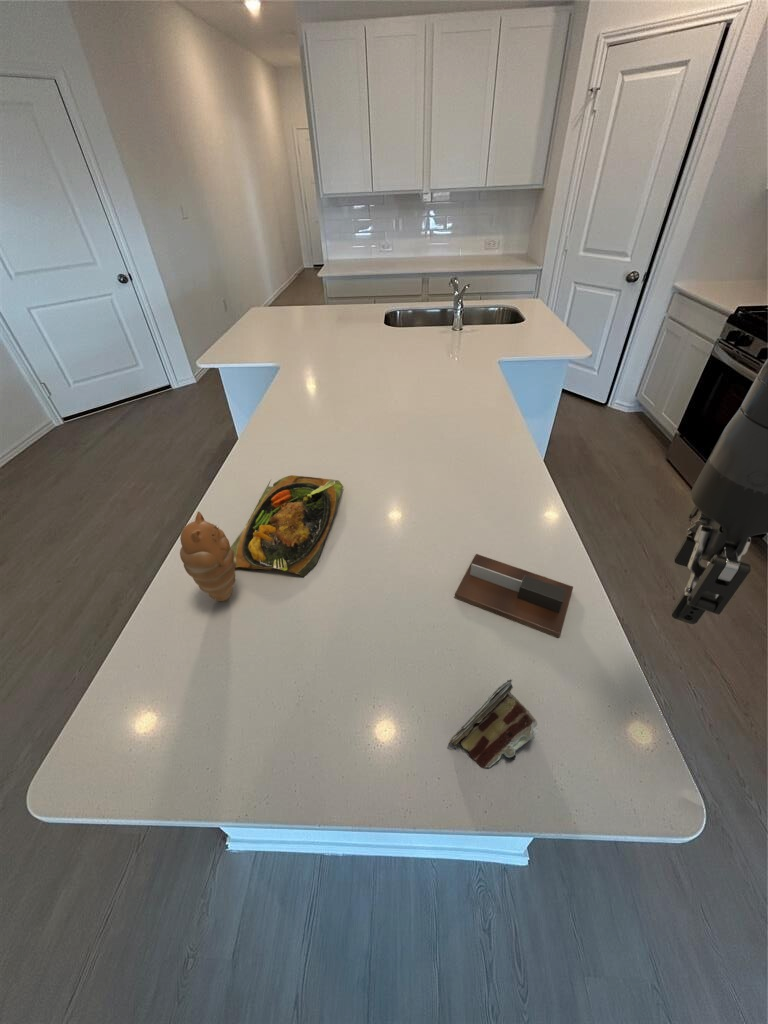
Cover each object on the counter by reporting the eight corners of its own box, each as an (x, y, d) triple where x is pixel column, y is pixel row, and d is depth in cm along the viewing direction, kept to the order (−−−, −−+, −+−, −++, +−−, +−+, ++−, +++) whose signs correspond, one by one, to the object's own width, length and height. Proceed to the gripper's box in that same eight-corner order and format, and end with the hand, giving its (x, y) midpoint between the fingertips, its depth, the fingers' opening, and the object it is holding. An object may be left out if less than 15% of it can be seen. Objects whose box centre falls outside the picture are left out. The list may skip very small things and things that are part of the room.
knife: (562, 600, 75) (566, 589, 73) (558, 613, 73) (562, 601, 71) (472, 568, 81) (474, 557, 79) (467, 580, 79) (469, 568, 77)
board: (571, 590, 78) (573, 586, 77) (558, 638, 71) (560, 634, 70) (475, 557, 85) (475, 553, 84) (454, 597, 78) (454, 593, 77)
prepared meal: (310, 565, 79) (217, 553, 82) (312, 578, 82) (221, 567, 84) (346, 479, 101) (272, 472, 103) (347, 491, 103) (274, 484, 106)
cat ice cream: (244, 612, 76) (216, 537, 65) (197, 619, 76) (161, 544, 64) (248, 575, 83) (223, 501, 71) (205, 580, 82) (173, 506, 71)
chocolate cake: (483, 794, 55) (552, 734, 52) (443, 746, 57) (507, 686, 55) (497, 762, 63) (557, 708, 61) (462, 721, 66) (518, 668, 63)
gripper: (836, 530, 31) (726, 656, 42) (804, 436, 40) (721, 558, 51) (713, 500, 34) (639, 625, 44) (709, 419, 43) (649, 538, 54)
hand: (683, 589), depth 48 cm, fingers open, 8 cm apart
